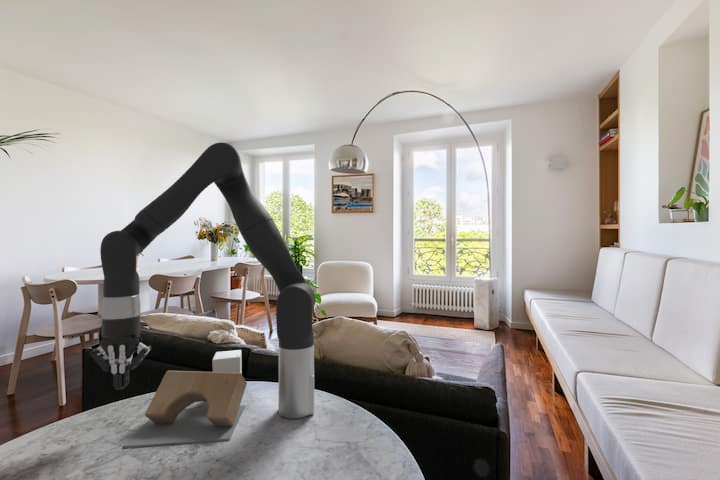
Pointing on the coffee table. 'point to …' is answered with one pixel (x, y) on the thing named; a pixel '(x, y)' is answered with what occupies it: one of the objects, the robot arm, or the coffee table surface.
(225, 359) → the supplement box
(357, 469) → the coffee table surface
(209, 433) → the mat
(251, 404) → the coffee table surface
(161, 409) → the decorative block
